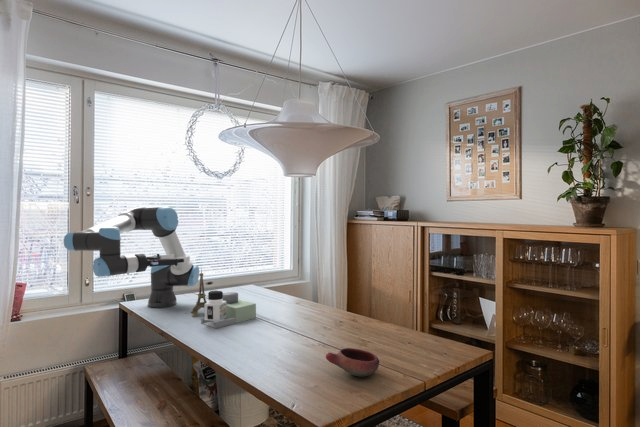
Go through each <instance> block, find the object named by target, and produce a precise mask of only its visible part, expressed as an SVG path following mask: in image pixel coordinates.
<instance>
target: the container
mask: <svg viewBox="0 0 640 427" xmlns="http://www.w3.org/2000/svg"><path fill="white" fill-rule="evenodd" d="M223 293H224V292H223V291H222V290H220V289H214V290H210V291H208V293H207V298H208V300H207V303H205V304H204V319H205V320H210V321H220V320H222V319H224V318H225V317H227V302H226V301H222V300H223Z"/></svg>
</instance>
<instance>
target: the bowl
mask: <svg viewBox="0 0 640 427" xmlns="http://www.w3.org/2000/svg"><path fill="white" fill-rule="evenodd" d="M325 358H326V360H327V361H328V362H329V363H331V364H333V365H335V366H337V367H338V368H340V369H342V370H344V371H345V372H346V373H347V374H350V375H352V376H355V377H358V378H359V377H361V378H362V377H367V376H370V375H372V374H375V373H376V371H377V370H378V369H379V367H380V360H379V358H378V356H377V355H376V354H375V353H373V352H371V351H369V350H368V351H367V350H364V349H358V348H354V347H353V348H351V347H348V348H347V347H345V348H341V349H340V350H338V352H337V353H333V352H328V353H326V354H325Z"/></svg>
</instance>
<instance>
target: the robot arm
mask: <svg viewBox="0 0 640 427" xmlns="http://www.w3.org/2000/svg"><path fill="white" fill-rule="evenodd" d="M178 226H179V216H178V213H177V211H176V210H175V209H174V208H173V207H172V206H167V205H166V206H165V205H161V206H138V207H135V208H132V209H129V210H128V209H127V210H126V211H124V212H121V213H119V214H118V215H117V217H114V218H111V219H109V220H106V221H104V222H101V223H98V224H96V225H95V226H91V227H88V228H87V229H84V230H81V231H71V232H67V233H66V234H65V235H64V238H63V246H64V247H65V249H66V250H68V251H73V252H74V251H75V252H79V251H81V252H83V251H84V252H85V251H86V252H87V251H88V252H89V251H90V252H91V251H92V252H93V251H94V252H98V251H99V257H96V258H94V260H93V262H92V263H93V264H92V270H93V274H94V275H95V276H96V277H99V278H100V277H111V276H118V275H125V274H126V275H128V276H129V275H130V274H132V273H142V272H143V273H144V272H145V271H147V268H148V267H150V295H149V297H148V301H147V306H148V307H151V308H166V307H172V306H175V305H176V304H177V303H178V302H177V297H176V294H175V291H174V287H184V288H185V287H188V288H189V287H194V286H196V285H197V283H198V281H199V279H200V276H199V274H200V267H199V266H198V265H196V264H193V262H192V260H191V256H189V255H188V256H186V253H185V251H184V248H183V247H182V244H181V241H180V239H179V237H178V235H177V232H176V230H177V228H178ZM132 231H151V232H152V234H153V236H154V237H155V238H158V239H159V241H160V244H161V246H162V248H163V250H164V252H165V254H160V253H157V254H155V255H149V256H146V255H145V253H138V254H124V255H121V253H122V252H121V239H122V238H121V234H122V233H129V232H132Z"/></svg>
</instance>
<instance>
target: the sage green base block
mask: <svg viewBox="0 0 640 427" xmlns="http://www.w3.org/2000/svg"><path fill="white" fill-rule="evenodd" d="M222 301H226V302H227V317H225V318H224V319H222V320H220V321H210V320H205V319H204V317H201V318H200V323H201V324H202V325H205V326H208V327H211V328H215V329H218V328H222V327H227V326H231V325H233V324H237V323H241V322H245V321H248V320H253V319H256V318H257V304H256V303H254V302H251V301H247V300H242V299H239V293H238V292H235V291H231V292H230V291H229V292H223V300H222Z"/></svg>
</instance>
